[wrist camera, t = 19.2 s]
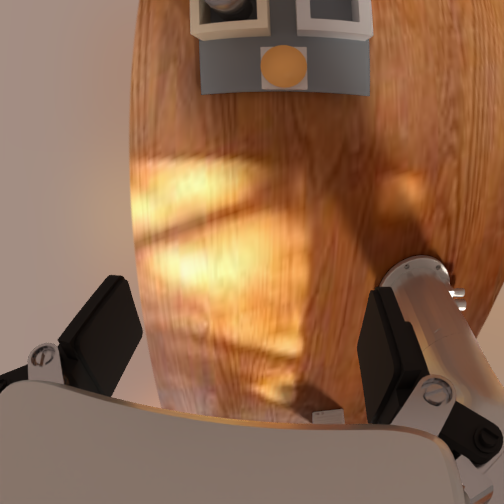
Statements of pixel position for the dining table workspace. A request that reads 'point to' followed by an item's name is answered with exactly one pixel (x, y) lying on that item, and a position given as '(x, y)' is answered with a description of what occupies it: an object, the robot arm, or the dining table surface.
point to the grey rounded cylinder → (231, 9)
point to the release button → (283, 66)
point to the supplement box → (328, 417)
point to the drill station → (286, 33)
